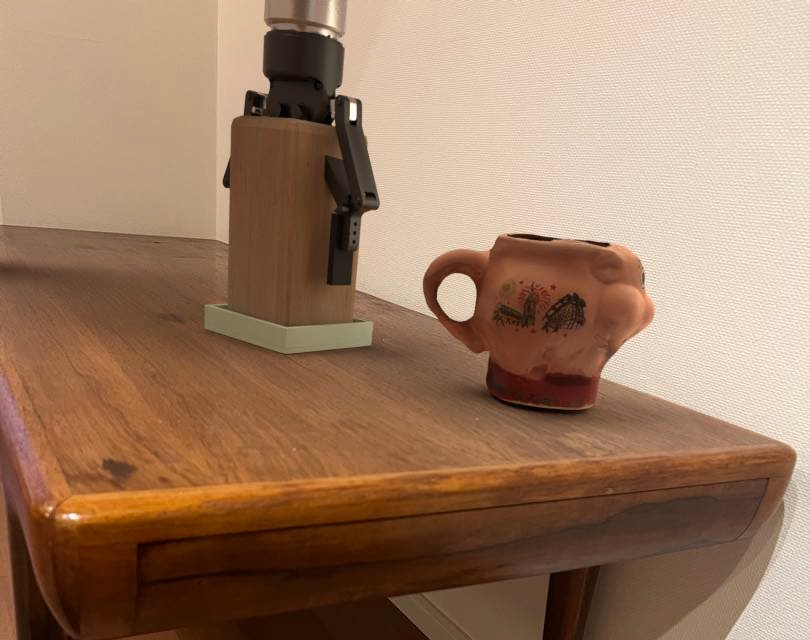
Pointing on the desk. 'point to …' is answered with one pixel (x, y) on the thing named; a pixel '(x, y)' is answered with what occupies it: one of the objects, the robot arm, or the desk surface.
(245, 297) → the block
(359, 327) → the shallow tray
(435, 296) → the terracotta mug
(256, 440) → the desk surface
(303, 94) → the robot arm
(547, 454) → the desk surface
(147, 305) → the desk surface
